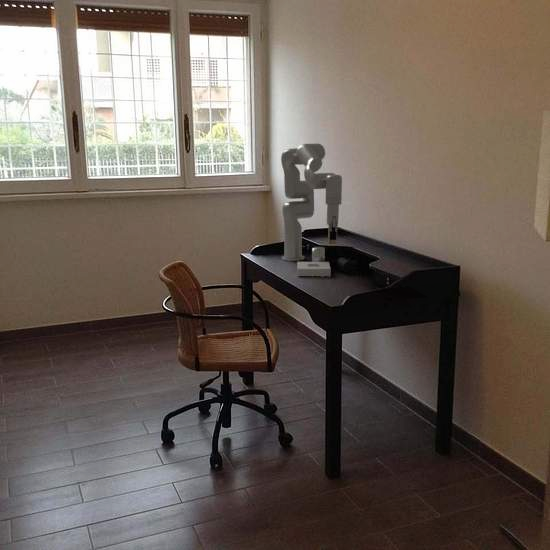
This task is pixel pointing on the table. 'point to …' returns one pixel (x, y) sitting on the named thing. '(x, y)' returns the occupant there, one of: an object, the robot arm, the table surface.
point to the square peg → (329, 235)
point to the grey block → (318, 254)
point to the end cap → (346, 265)
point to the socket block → (313, 269)
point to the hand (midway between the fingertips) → (332, 238)
